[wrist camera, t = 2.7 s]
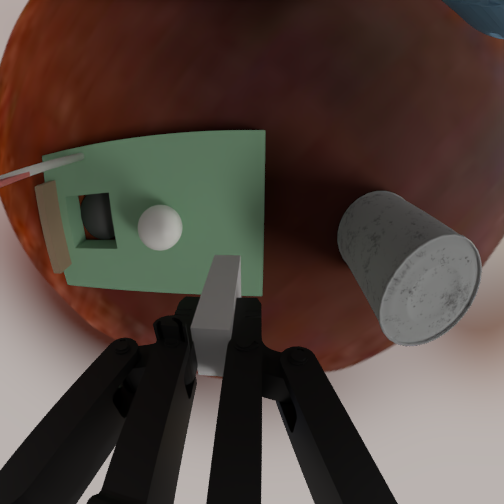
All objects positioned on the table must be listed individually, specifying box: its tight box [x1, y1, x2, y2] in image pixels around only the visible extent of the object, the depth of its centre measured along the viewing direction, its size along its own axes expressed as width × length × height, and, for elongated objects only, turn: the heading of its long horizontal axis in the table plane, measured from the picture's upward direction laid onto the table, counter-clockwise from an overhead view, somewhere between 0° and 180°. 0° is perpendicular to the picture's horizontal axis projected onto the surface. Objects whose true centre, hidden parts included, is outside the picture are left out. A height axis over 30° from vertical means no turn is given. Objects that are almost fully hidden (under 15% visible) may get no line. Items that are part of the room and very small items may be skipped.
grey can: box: [337, 191, 482, 346], centre depth 22 cm, size 10×10×12 cm
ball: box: [138, 205, 182, 251], centre depth 23 cm, size 4×4×4 cm
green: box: [0, 130, 265, 296], centre depth 20 cm, size 16×24×16 cm, turn 90°
